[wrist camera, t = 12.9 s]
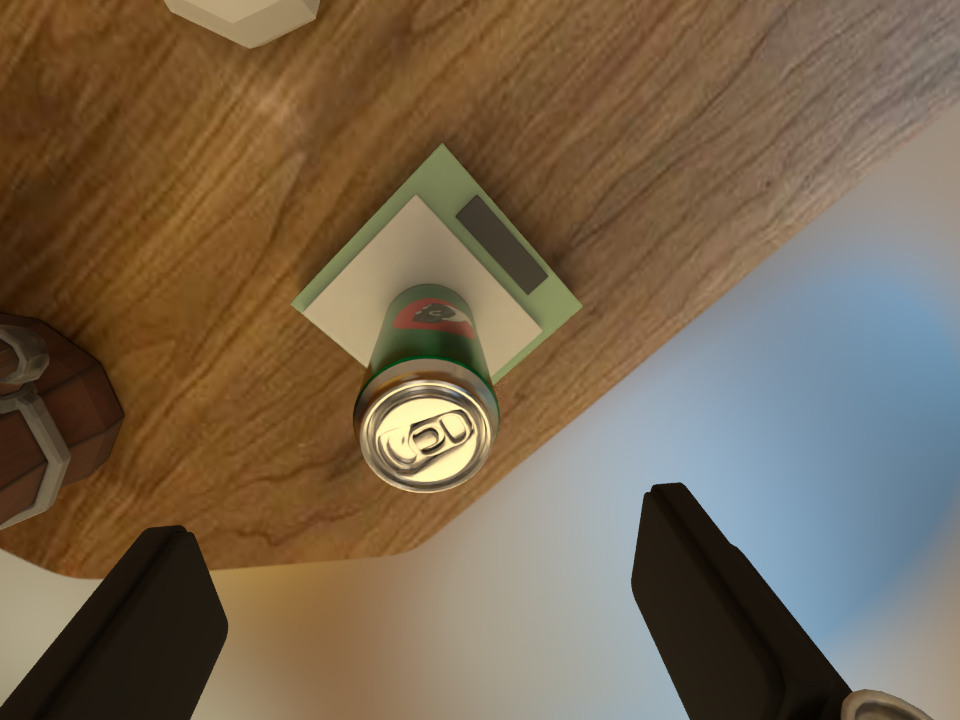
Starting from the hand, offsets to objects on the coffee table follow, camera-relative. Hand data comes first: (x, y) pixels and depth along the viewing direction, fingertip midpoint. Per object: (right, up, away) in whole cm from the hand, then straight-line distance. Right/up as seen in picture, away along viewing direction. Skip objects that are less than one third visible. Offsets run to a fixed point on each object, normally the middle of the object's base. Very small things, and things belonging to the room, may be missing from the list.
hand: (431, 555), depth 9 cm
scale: (-1, +8, +18) cm, 20 cm away
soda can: (-2, +6, +16) cm, 17 cm away
